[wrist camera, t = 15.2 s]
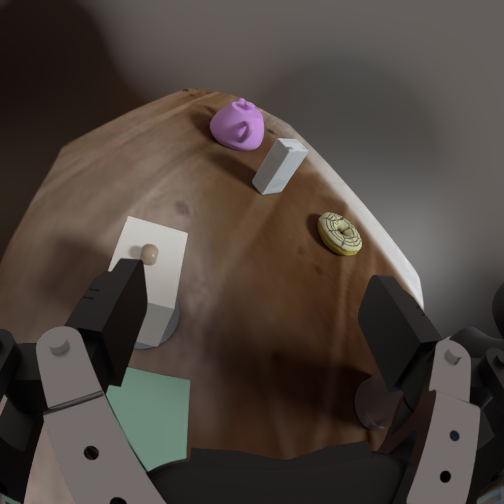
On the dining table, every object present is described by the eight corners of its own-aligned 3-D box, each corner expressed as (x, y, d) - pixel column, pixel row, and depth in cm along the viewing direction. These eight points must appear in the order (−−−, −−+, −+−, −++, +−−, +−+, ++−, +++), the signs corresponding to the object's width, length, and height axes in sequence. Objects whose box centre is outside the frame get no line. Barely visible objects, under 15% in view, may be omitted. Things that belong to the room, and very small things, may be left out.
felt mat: (106, 362, 28) (105, 361, 28) (189, 380, 31) (190, 380, 31) (92, 461, 20) (92, 461, 20) (184, 477, 23) (185, 477, 23)
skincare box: (270, 179, 64) (296, 137, 56) (281, 193, 63) (310, 151, 54) (249, 182, 60) (275, 136, 52) (261, 196, 59) (290, 150, 50)
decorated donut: (336, 219, 67) (345, 209, 64) (360, 256, 62) (371, 246, 59) (306, 221, 61) (315, 209, 58) (332, 262, 56) (344, 251, 53)
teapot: (251, 126, 79) (267, 96, 72) (262, 165, 67) (283, 130, 60) (206, 113, 73) (221, 80, 66) (207, 150, 62) (225, 110, 54)
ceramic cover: (121, 271, 35) (129, 207, 27) (168, 284, 37) (190, 225, 29) (104, 333, 29) (101, 282, 21) (157, 346, 32) (177, 302, 23)
